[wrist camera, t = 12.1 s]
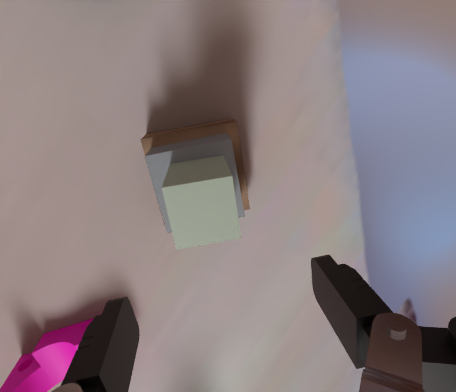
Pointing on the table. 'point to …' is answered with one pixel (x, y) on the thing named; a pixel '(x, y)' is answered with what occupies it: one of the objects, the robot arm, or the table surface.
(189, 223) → the sage block
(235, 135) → the block
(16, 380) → the toy block
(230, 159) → the block
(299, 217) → the table surface
